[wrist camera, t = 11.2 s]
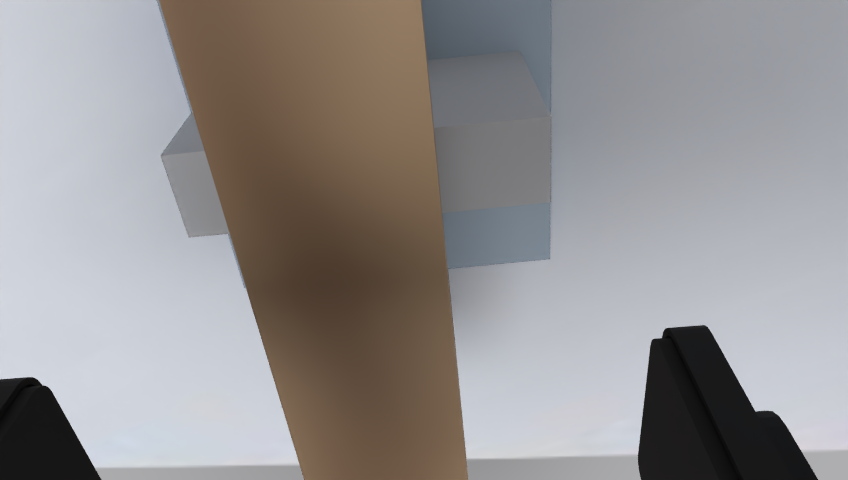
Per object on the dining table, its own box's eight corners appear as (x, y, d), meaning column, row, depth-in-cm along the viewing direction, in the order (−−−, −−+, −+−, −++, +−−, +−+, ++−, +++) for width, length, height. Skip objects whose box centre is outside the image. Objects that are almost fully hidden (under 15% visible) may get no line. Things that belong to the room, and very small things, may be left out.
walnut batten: (384, -382, 12) (371, -494, 7) (465, 453, 23) (478, 593, 19) (160, -354, 12) (23, -447, 8) (353, 462, 24) (342, 603, 19)
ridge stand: (542, -163, 20) (601, -154, 14) (543, 238, 27) (581, 356, 21) (140, -116, 20) (29, -87, 14) (252, 265, 27) (209, 389, 22)
